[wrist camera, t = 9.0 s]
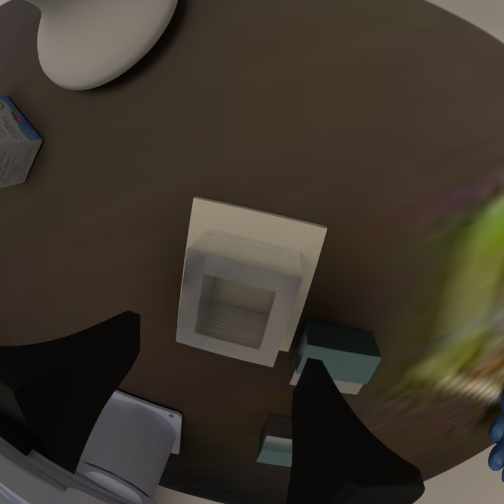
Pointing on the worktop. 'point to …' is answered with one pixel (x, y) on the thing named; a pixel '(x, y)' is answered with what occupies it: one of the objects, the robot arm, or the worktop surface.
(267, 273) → the grey hollow block
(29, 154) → the medicine box
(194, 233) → the mat
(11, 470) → the robot arm
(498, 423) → the grapes
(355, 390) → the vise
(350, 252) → the worktop surface
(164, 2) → the flower in vase
